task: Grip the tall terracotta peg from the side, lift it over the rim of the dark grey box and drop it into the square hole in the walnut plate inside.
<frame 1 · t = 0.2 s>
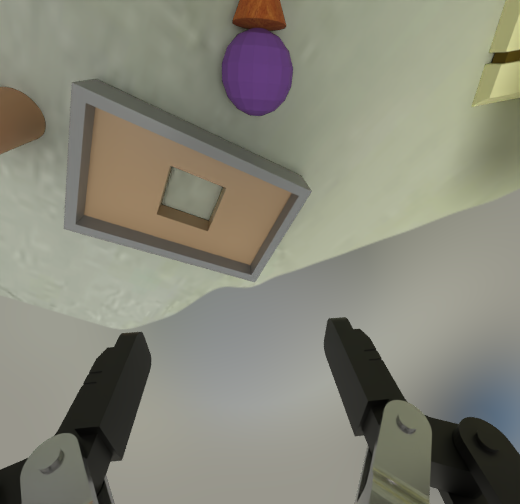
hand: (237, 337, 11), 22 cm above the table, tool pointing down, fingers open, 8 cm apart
peg box: (193, 192, 30), on the table
peg: (17, 115, 24), on the table
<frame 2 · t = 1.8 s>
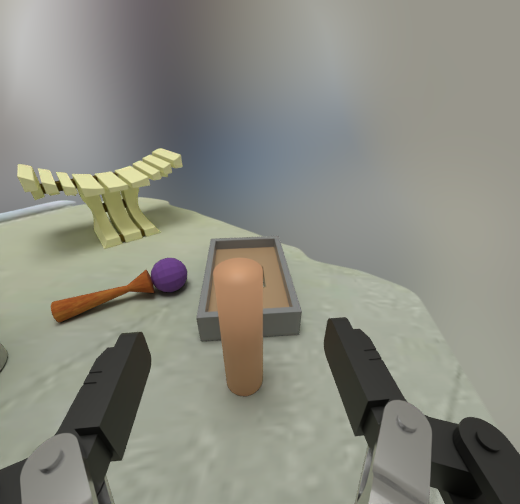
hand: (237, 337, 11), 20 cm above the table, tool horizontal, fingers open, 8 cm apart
slatted curved stool: (125, 229, 67), on the table
peg box: (247, 288, 45), on the table
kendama: (130, 300, 43), on the table
peg: (244, 378, 31), on the table
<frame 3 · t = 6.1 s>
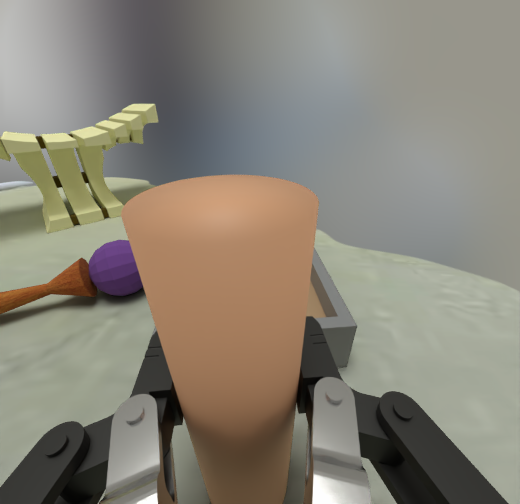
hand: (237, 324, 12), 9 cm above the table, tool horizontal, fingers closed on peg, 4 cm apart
slatted curved stool: (85, 210, 50), on the table
peg box: (249, 285, 29), on the table
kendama: (56, 309, 26), on the table
peg: (247, 475, 14), on the table, touching gripper
when the fingers open (10 cm above the table, at t = 11.5 s): peg drops 1 cm, resting in peg box.
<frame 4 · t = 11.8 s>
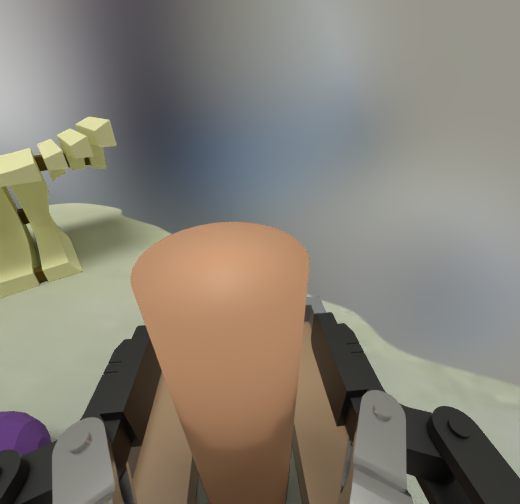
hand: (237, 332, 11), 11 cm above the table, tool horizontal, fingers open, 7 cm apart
slatted curved stool: (20, 265, 36), on the table
peg box: (248, 485, 15), on the table
peg: (249, 487, 15), resting in peg box
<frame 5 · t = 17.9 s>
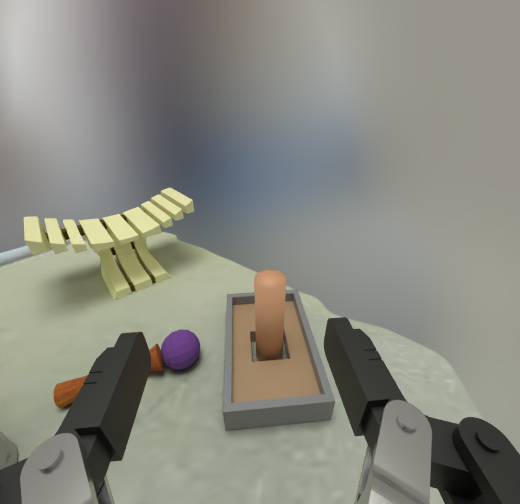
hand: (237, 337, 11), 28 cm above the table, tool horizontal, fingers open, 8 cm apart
slatted curved stool: (134, 273, 64), on the table
peg box: (269, 354, 43), on the table
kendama: (139, 377, 40), on the table
peg: (269, 354, 43), resting in peg box
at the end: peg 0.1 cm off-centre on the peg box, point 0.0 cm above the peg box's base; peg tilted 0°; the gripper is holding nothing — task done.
